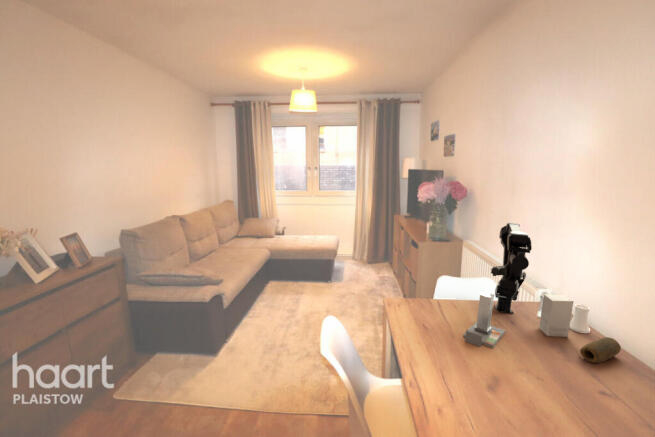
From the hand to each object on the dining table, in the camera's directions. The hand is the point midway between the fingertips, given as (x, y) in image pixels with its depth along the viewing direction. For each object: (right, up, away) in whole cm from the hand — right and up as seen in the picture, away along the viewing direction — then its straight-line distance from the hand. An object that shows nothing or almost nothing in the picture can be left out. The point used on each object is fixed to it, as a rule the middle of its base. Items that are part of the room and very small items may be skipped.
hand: (510, 297), depth 135 cm
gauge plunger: (-14, -12, -8) cm, 20 cm away
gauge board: (-16, -13, -9) cm, 22 cm away
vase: (+28, -13, -1) cm, 31 cm away
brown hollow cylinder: (+19, -17, -21) cm, 33 cm away
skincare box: (+15, -13, -5) cm, 20 cm away
